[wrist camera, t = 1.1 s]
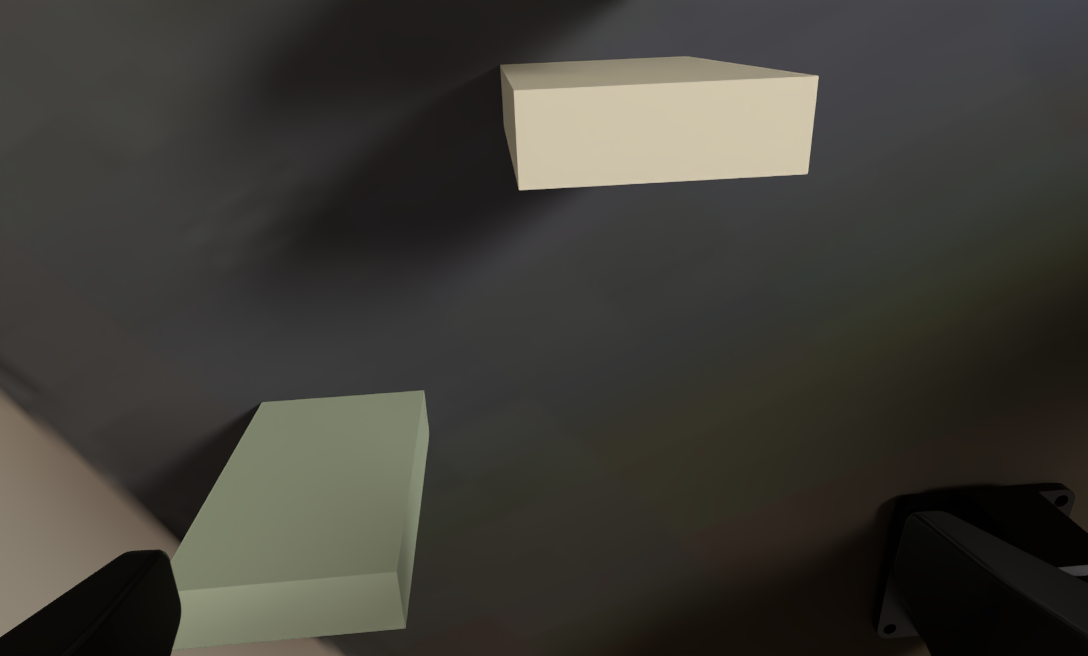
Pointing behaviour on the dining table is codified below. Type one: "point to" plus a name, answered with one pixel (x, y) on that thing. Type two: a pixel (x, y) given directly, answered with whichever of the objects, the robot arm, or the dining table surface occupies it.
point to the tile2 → (654, 121)
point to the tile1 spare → (308, 524)
